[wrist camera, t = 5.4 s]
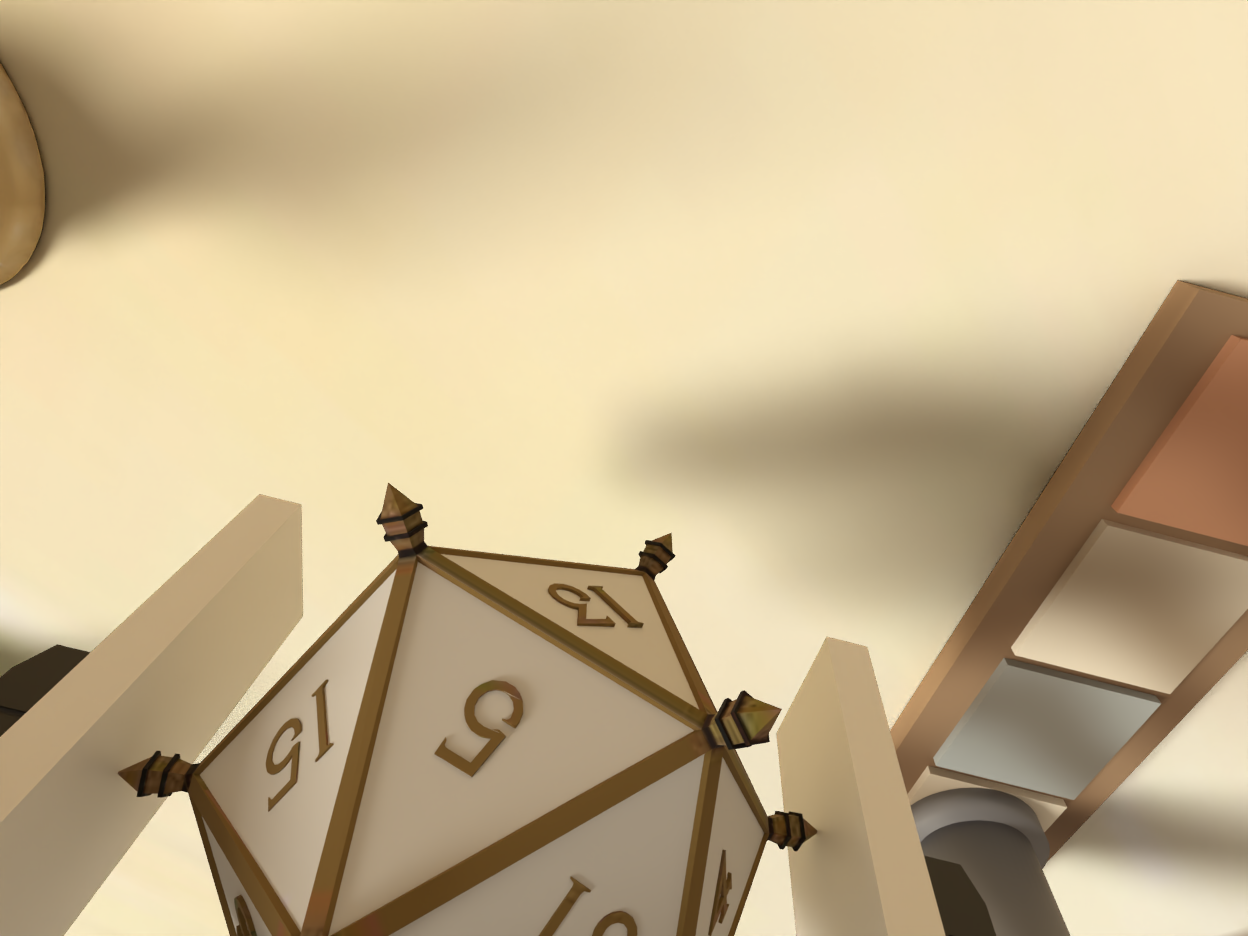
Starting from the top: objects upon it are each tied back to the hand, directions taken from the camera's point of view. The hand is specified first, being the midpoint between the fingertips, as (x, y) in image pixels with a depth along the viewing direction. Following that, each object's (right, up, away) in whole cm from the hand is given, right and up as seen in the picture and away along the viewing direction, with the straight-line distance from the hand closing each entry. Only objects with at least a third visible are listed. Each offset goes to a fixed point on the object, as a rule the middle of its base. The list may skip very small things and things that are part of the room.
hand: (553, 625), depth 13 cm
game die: (0, 0, 0) cm, 0 cm away
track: (+15, -3, +8) cm, 17 cm away
